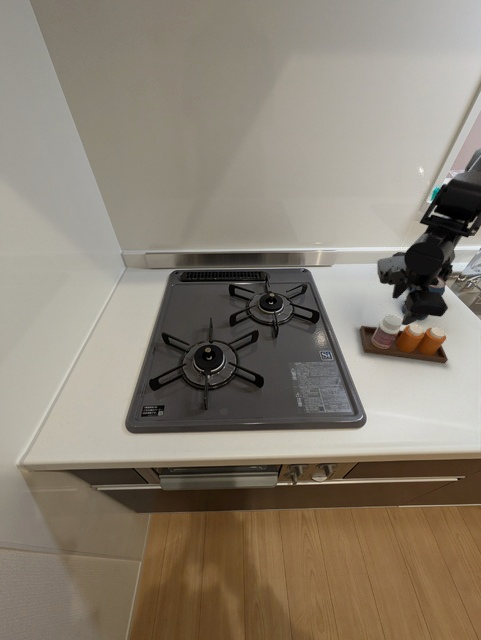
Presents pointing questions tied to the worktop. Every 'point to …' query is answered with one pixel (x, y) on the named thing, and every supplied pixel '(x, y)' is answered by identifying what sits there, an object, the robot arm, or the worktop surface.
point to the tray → (394, 350)
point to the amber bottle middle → (410, 338)
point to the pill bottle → (386, 331)
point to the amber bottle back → (431, 341)
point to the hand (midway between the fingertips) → (399, 310)
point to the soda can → (438, 288)
